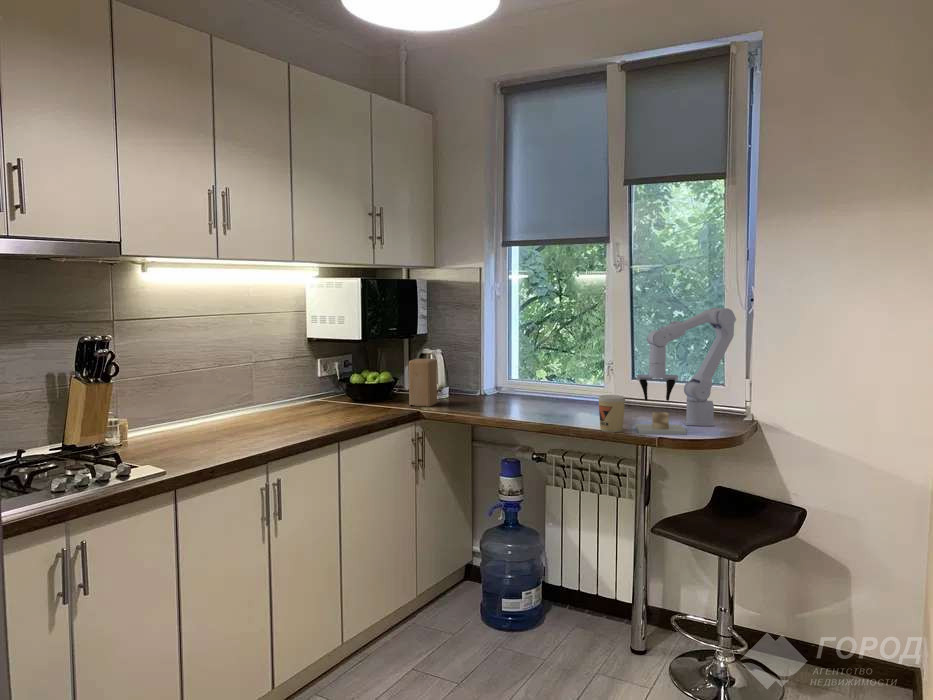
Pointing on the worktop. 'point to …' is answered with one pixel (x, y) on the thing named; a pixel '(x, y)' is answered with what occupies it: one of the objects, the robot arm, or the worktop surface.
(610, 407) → the coffee cup
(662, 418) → the maple cube
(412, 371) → the wooden block
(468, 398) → the worktop surface
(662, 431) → the gray board
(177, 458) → the worktop surface
